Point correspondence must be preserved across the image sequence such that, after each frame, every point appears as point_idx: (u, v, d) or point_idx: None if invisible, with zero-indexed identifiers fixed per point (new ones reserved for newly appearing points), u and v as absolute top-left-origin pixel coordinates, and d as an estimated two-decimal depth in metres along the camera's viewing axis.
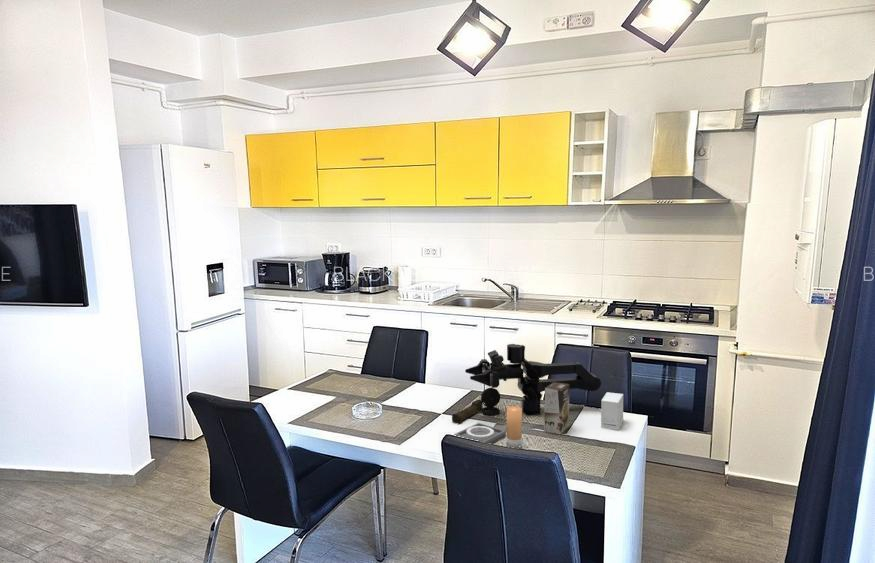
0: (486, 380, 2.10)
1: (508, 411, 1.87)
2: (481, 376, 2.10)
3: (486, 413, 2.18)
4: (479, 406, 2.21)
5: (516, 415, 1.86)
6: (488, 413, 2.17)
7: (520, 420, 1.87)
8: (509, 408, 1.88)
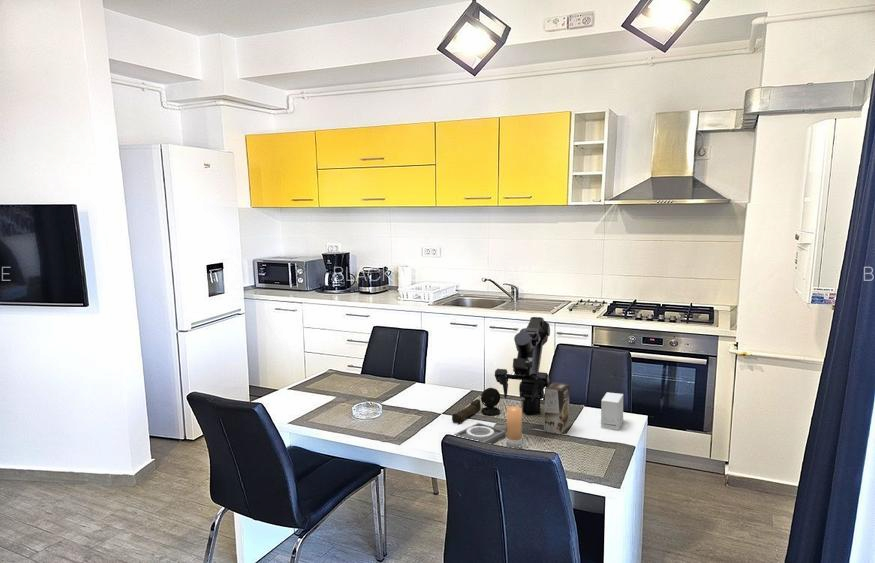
0: (538, 387, 1.97)
1: (508, 411, 1.87)
2: (536, 389, 1.95)
3: (486, 413, 2.18)
4: (478, 406, 2.22)
5: (516, 415, 1.86)
6: (488, 413, 2.17)
7: (520, 420, 1.87)
8: (509, 408, 1.88)
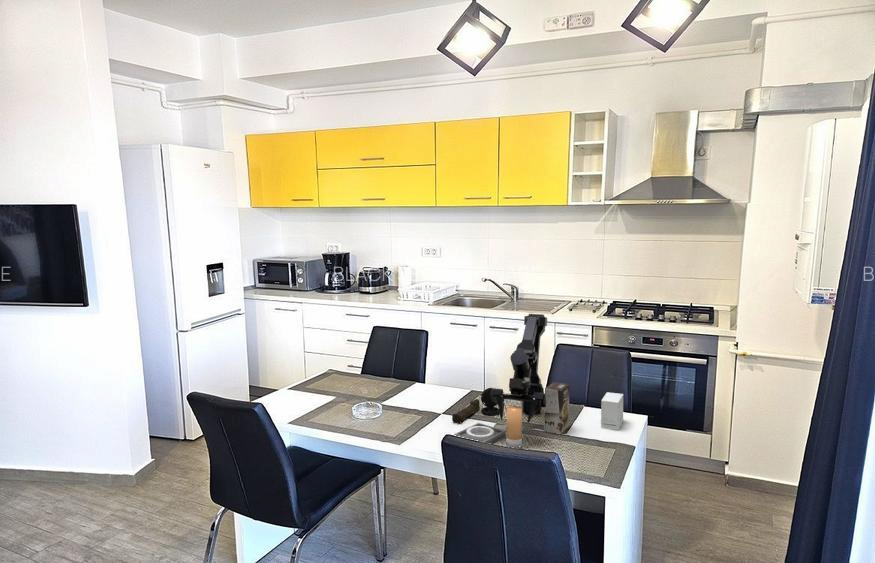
0: (535, 407, 1.91)
1: (508, 411, 1.87)
2: (533, 410, 1.89)
3: (486, 413, 2.18)
4: (477, 405, 2.22)
5: (516, 415, 1.86)
6: (488, 413, 2.17)
7: (520, 420, 1.87)
8: (509, 408, 1.88)
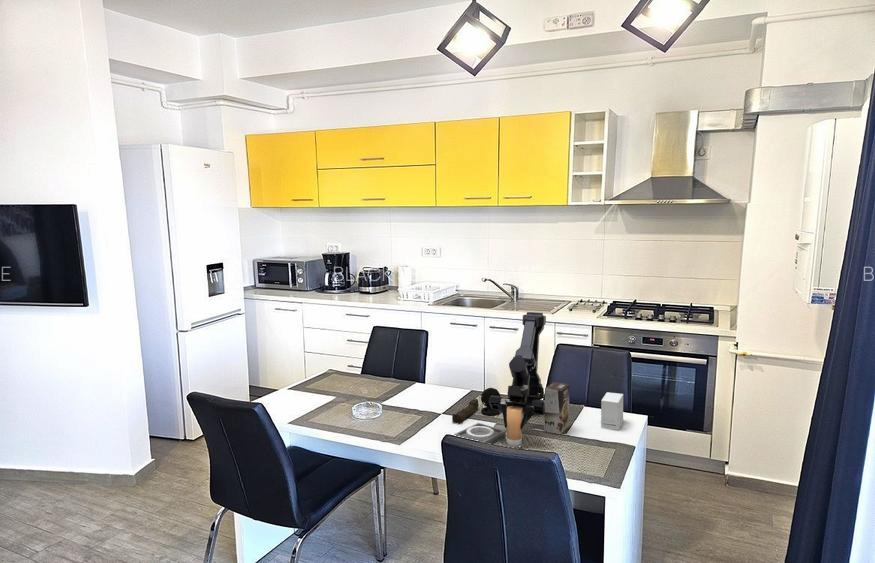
0: (528, 414, 1.90)
1: (508, 411, 1.87)
2: (526, 417, 1.88)
3: (486, 413, 2.18)
4: (476, 405, 2.22)
5: (516, 415, 1.86)
6: (488, 413, 2.17)
7: (520, 420, 1.87)
8: (509, 408, 1.88)
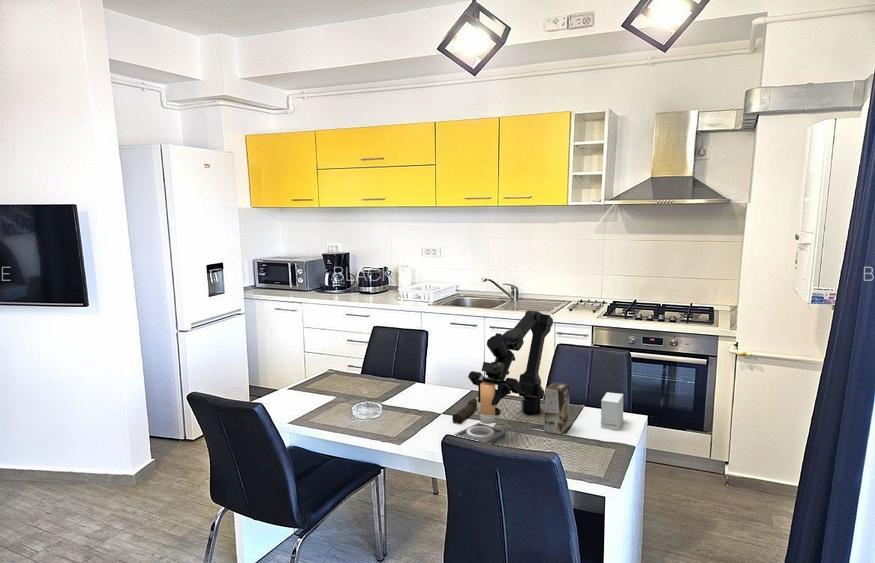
0: (503, 392, 1.93)
1: (480, 386, 1.91)
2: (499, 394, 1.91)
3: None
4: (475, 405, 2.22)
5: (487, 391, 1.89)
6: None
7: (492, 396, 1.90)
8: (483, 384, 1.92)
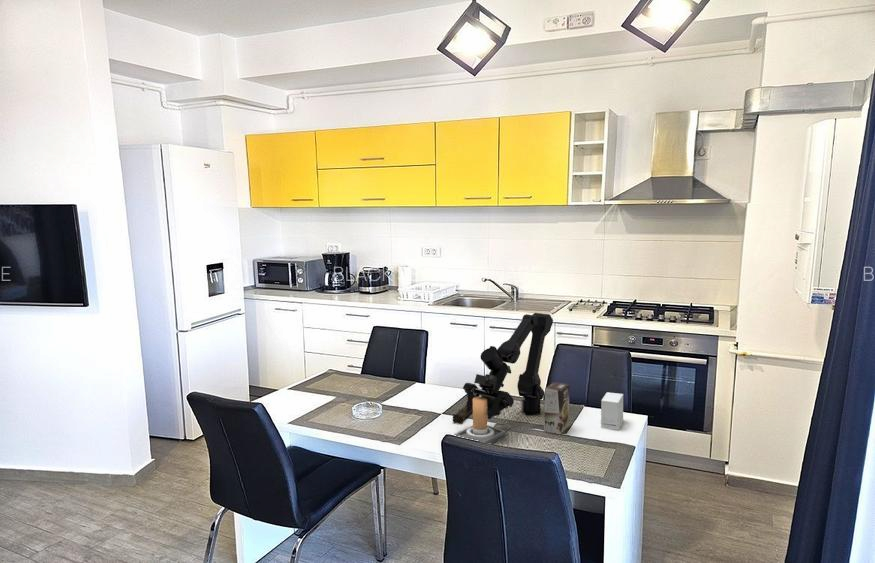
0: (500, 406, 1.93)
1: (473, 401, 1.94)
2: (495, 408, 1.92)
3: None
4: None
5: (478, 405, 1.92)
6: (488, 413, 2.17)
7: (483, 411, 1.93)
8: (475, 398, 1.95)
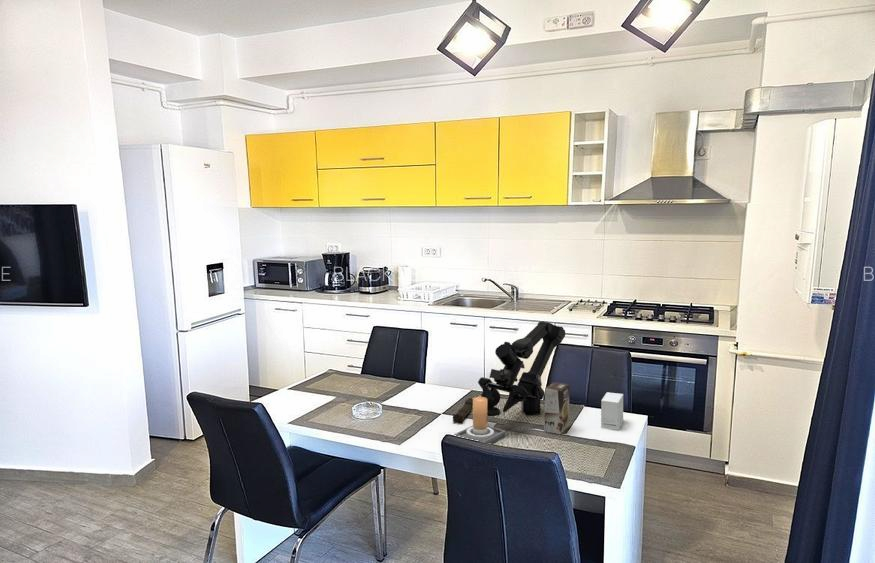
0: (514, 399, 2.00)
1: (473, 401, 1.94)
2: (510, 401, 1.98)
3: None
4: (472, 404, 2.23)
5: (478, 405, 1.92)
6: (488, 413, 2.17)
7: (483, 411, 1.93)
8: (475, 398, 1.95)
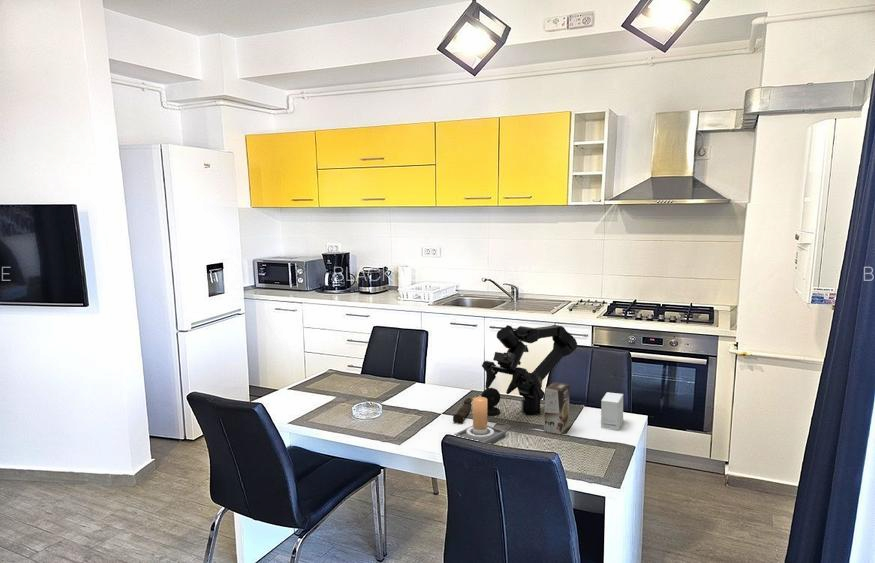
0: (518, 381, 2.04)
1: (473, 401, 1.94)
2: (513, 383, 2.02)
3: None
4: (470, 404, 2.23)
5: (478, 405, 1.92)
6: (488, 413, 2.17)
7: (483, 411, 1.93)
8: (475, 398, 1.95)
